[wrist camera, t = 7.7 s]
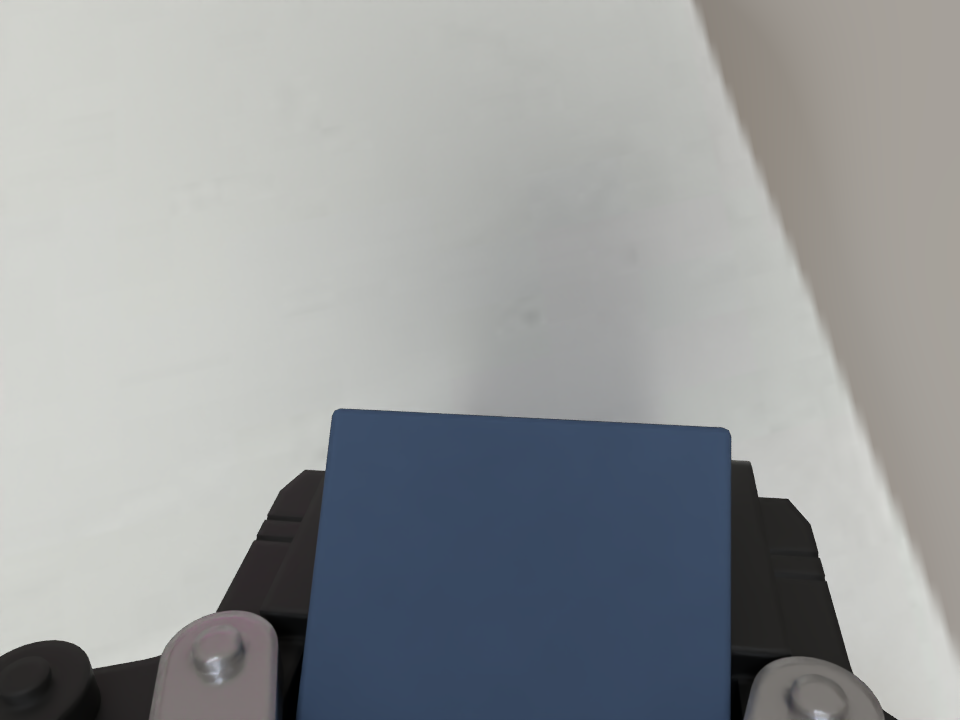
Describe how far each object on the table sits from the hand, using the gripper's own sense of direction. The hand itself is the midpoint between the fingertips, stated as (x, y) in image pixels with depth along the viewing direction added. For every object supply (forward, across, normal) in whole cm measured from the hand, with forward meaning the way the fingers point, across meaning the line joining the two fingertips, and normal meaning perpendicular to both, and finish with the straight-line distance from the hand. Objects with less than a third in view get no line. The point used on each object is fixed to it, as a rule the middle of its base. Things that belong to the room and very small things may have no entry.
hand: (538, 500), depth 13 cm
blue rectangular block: (+2, 0, +4) cm, 5 cm away
